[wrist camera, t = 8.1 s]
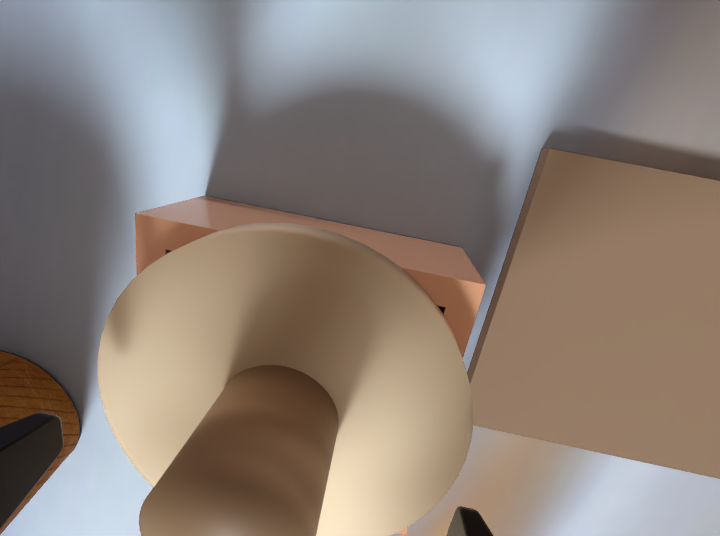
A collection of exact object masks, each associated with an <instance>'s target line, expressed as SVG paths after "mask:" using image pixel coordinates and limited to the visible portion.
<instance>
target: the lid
mask: <svg viewBox="0 0 720 536" xmlns="http://www.w3.org/2000/svg"><path fill="white" fill-rule="evenodd" d="M98 383H99V390H100V397H101V401H102V404H103V408H104V411H105V415H106V418H107V420H108V422H109V425H110V427H111V429H112V431H113V434H114V436H115V438H116V439H117V441H118V443H119V445H120V446H121V448H122V450H123V451H124V453H125V454H126V456H127V457H128V459H129V460H130V461H131V463H132V464H133V465H134V467H135V468H136V469H137V470H138V472H139V473H140V474H141V475H142V476H143V477H144V478H145V479H146V480H147V481H148V482H149V484H150V485H151V486H152V487H154V488H153V489H152V491H151V492H150V493H149V495H148V496H147V498H146V499H145V501H144V503H143V505H142V507H141V511H140V515H139V526H140V532H141V536H390V535H393V534H395V533H397V532H399V531H401V530H403V529H405V528H406V527H408V526H409V525H411V524H413V523H414V522H416V521H418V520H419V519H420V518H421V517H423V516H424V515H425V514H426V513H427V512H429V511H430V510H431V509H432V508H433V507H434V506H435V505H436V504H437V503H438V502H439V501H440V500H441V499H442V498H443V497H444V496H445V494H446V493H447V492H448V490H449V489H450V487H451V486H452V484H453V483H454V481H455V480H456V478H457V477H458V475H459V473H460V470H461V468H462V466H463V464H464V462H465V460H466V457H467V453H468V449H469V446H470V442H471V438H472V428H473V419H474V417H473V400H472V392H471V388H470V383H469V379H468V374H467V371H466V368H465V364H464V361H463V358H462V355H461V352H460V349H459V346H458V344H457V341H456V339H455V336H454V334H453V331H452V329H451V327H450V325H449V324H448V322H447V320H446V318H445V317H444V315H443V313H442V311H441V310H440V308H439V307H438V306H437V304H436V303H435V302H434V301H433V299H432V298H431V297H430V295H429V294H428V293H427V292H426V290H425V289H424V288H423V287H422V286H421V285H420V284H419V283H418V282H417V281H416V280H415V279H414V278H413V277H411V276H410V275H409V274H408V273H407V272H406V271H405V270H403V269H402V268H401V267H399V266H398V265H397V264H395V263H394V262H393V261H391V260H390V259H389V258H387V257H386V256H384V255H382V254H381V253H379V252H377V251H375V250H374V249H372V248H370V247H368V246H367V245H365V244H363V243H361V242H358V241H356V240H353V239H351V238H348V237H346V236H344V235H341V234H339V233H335V232H331V231H328V230H324V229H320V228H316V227H312V226H305V225H298V224H291V223H256V224H249V225H241V226H235V227H231V228H228V229H224V230H220V231H217V232H213V233H211V234H209V235H206V236H204V237H202V238H200V239H197V240H195V241H193V242H191V243H189V244H186V245H184V246H182V247H180V248H178V249H176V250H173V251H171V252H169V253H168V254H166V255H164V256H163V257H161V258H160V259H158V260H157V261H155V262H154V263H152V264H150V265H149V266H148V267H147V268H146V269H144V270H143V271H142V272H141V273H140V274H139V275H138V276H137V277H136V278H134V279H133V280H132V281H131V282H130V284H129V285H128V286H127V288H126V289H125V290H124V291H123V293H122V294H121V295H120V296H119V298H118V299H117V301H116V303H115V305H114V307H113V308H112V310H111V312H110V314H109V316H108V318H107V321H106V324H105V327H104V330H103V333H102V336H101V340H100V346H99V352H98Z"/></svg>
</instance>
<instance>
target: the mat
mask: <svg viewBox="0 0 720 536" xmlns="http://www.w3.org/2000/svg"><path fill="white" fill-rule="evenodd" d="M467 374H468V379H469V383H470V388H471V392H472V400H473V417H474V419H473V425H475V426H479V427H484V428H488V429H493V430H498V431H502V432H507V433H511V434H516V435H521V436H525V437H530V438H534V439H539V440H544V441H548V442H553V443H558V444H562V445H567V446H571V447H576V448H581V449H585V450H590V451H594V452H599V453H604V454H608V455H613V456H617V457H622V458H627V459H631V460H636V461H640V462H645V463H650V464H654V465H659V466H664V467H668V468H673V469H677V470H682V471H687V472H691V473H696V474H700V475H705V476H710V477H714V478H719V479H720V181H718V180H713V179H707V178H702V177H697V176H692V175H686V174H681V173H676V172H671V171H665V170H660V169H655V168H650V167H644V166H639V165H634V164H629V163H623V162H618V161H613V160H608V159H602V158H597V157H592V156H587V155H581V154H576V153H571V152H566V151H560V150H555V149H548V148H542V150H541V153H540V156H539V159H538V162H537V165H536V168H535V171H534V174H533V177H532V180H531V183H530V186H529V189H528V192H527V195H526V198H525V201H524V204H523V207H522V210H521V213H520V216H519V219H518V222H517V225H516V228H515V231H514V234H513V237H512V240H511V243H510V246H509V249H508V252H507V255H506V259H505V262H504V265H503V268H502V271H501V274H500V277H499V280H498V283H497V286H496V289H495V292H494V295H493V298H492V301H491V304H490V307H489V310H488V313H487V316H486V319H485V322H484V325H483V328H482V331H481V334H480V337H479V340H478V343H477V346H476V349H475V352H474V355H473V358H472V361H471V364H470V367H469V370H468V373H467Z"/></svg>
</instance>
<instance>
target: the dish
mask: <svg viewBox="0 0 720 536" xmlns="http://www.w3.org/2000/svg"><path fill="white" fill-rule="evenodd" d="M256 223H291V224H298V225H305V226H312V227H316V228H320V229H324V230H328V231H331V232H335V233H339V234H341V235H344V236H346V237H348V238H351V239H353V240H356V241H358V242H361V243H363V244H365V245H367V246H368V247H370V248H372V249H374V250H375V251H377V252H379V253H381V254H382V255H384V256H386V257H387V258H389V259H390V260H391V261H393V262H394V263H395V264H397V265H398V266H399V267H401V268H402V269H403V270H405V271H406V272H407V273H408V274H409V275H410V276H411V277H413V278H414V279H415V280H416V281H417V282H418V283H419V284H420V285H421V286H422V287H423V288H424V289H425V290H426V292H427V293H428V294H429V295H430V297H431V298H432V299H433V301H434V302H435V303H436V304H437V306H438V307H439V308H440V310H441V311H442V313H443V315H444V317H445V318H446V320H447V322H448V324H449V325H450V327H451V329H452V331H453V334H454V336H455V339H456V341H457V344H458V346H459V349H460V352H461V355H462V358H463V356H464V352H465V349H466V346H467V343H468V340H469V337H470V334H471V331H472V328H473V325H474V321H475V318H476V315H477V312H478V309H479V306H480V303H481V300H482V297H483V293H484V290H485V287H486V284H485V282H484V281H483V279H482V278H481V276H480V274H479V273H478V271H477V270H476V268H475V267H474V265H473V264H472V262H471V261H470V259H469V257H468V256H467V254H466V253H465V251H464V250H463V248H462V247H457V246H452V245H447V244H442V243H437V242H432V241H427V240H422V239H417V238H412V237H407V236H402V235H397V234H392V233H387V232H382V231H377V230H372V229H367V228H362V227H357V226H352V225H347V224H342V223H338V222H333V221H328V220H323V219H318V218H313V217H308V216H303V215H298V214H293V213H288V212H283V211H278V210H273V209H268V208H263V207H258V206H253V205H248V204H243V203H238V202H233V201H228V200H223V199H218V198H213V197H208V196H201V197H197V198H194V199H190V200H186V201H182V202H178V203H174V204H170V205H166V206H162V207H158V208H154V209H150V210H146V211H142V212H138V213H135V224H136V263H137V276H138V275H139V274H140V273H141V272H142V271H143V270H144V269H146V268H147V267H148V266H149V265H150V264H152V263H154V262H155V261H157V260H158V259H160V258H161V257H163V256H164V255H166V254H168V253H169V252H171V251H173V250H176V249H178V248H180V247H182V246H184V245H186V244H189V243H191V242H193V241H195V240H197V239H200V238H202V237H204V236H206V235H209V234H211V233H213V232H217V231H220V230H224V229H228V228H231V227H235V226H241V225H249V224H256ZM408 527H409V526H408ZM408 527H406V528H405V529H403V530H401V531H399V532H397V534H401V535H405V536H406V533H407V530H408Z"/></svg>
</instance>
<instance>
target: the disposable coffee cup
mask: <svg viewBox="0 0 720 536" xmlns="http://www.w3.org/2000/svg"><path fill="white" fill-rule="evenodd" d="M39 412H44V413H49V414H53V415H57V416H59V417H60V419H61V423H62V432H63V440H64V444H63V448H62V451H61V452H60V454H59V456H58V457H57V458H56V460H55V461H54V462H53V463H52V465H51V466H50V467H49V469H48V470H47V471H46V472H45V474H44V475H43V476H42V477H41V479H40V480H39V481H38V483H37V484H36V485H35V486H34V488H33V489H32V490H31V491H30V493H29V494H28V495H27V497H26V498H25V499H24V500H23V502H22V503H21V504H20V505H19V507H18V508H17V509H16V511H15V512H14V513H13V514H12V516H11V517H10V518H9V519H8V520H7V522H6V523H5V524H4V525H3V526H2V528H1V529H0V534H1V533H2V532H3V531H4V530H5V529H6V527H7V526H8V525H9V524H10V522H12V520H13V519H14V518H15V517H16V516H17V515H18V513H19V512H20V511H21V510H22V509H23V508H24V506H25V505H26V504H27V503H28V502H29V501H30V499H31V498H32V497H33V496H34V495H35V494H36V492H37V491H38V490H39V489H40V488H41V487H42V486H43V484H44V483H45V482H46V481H47V480H48V479H49V477H50V476H51V475H52V474H53V473H54V472H55V470H56V469H57V468H58V467H59V466H60V464H61V463H62V462H63V461H64V460H65V459H66V458H67V456H68V455H69V454H70V453H71V452H72V451H73V450H74V449H75V446H76V444H77V442H78V439H79V434H80V426H79V419H78V415H77V412H76V409H75V407H74V405H73V403H72V401H71V400H70V398H69V396H68V395H67V394H66V392H65V391H64V390H63V388H62V387H61V386H60V385H59V384H58V383H57V382H56V381H55V380H54V379H53V378H52V377H51V376H50V375H49V374H47V373H46V372H45V371H44V370H42V369H41V368H40V367H38V366H36V365H35V364H33V363H31V362H29V361H28V360H26V359H23V358H21V357H18V356H15V355H13V354H10V353H6V352H2V351H0V427H2V426H4V425H7V424H9V423H12V422H15V421H17V420H20V419H22V418H25V417H27V416H30V415H33V414H35V413H39Z"/></svg>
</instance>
